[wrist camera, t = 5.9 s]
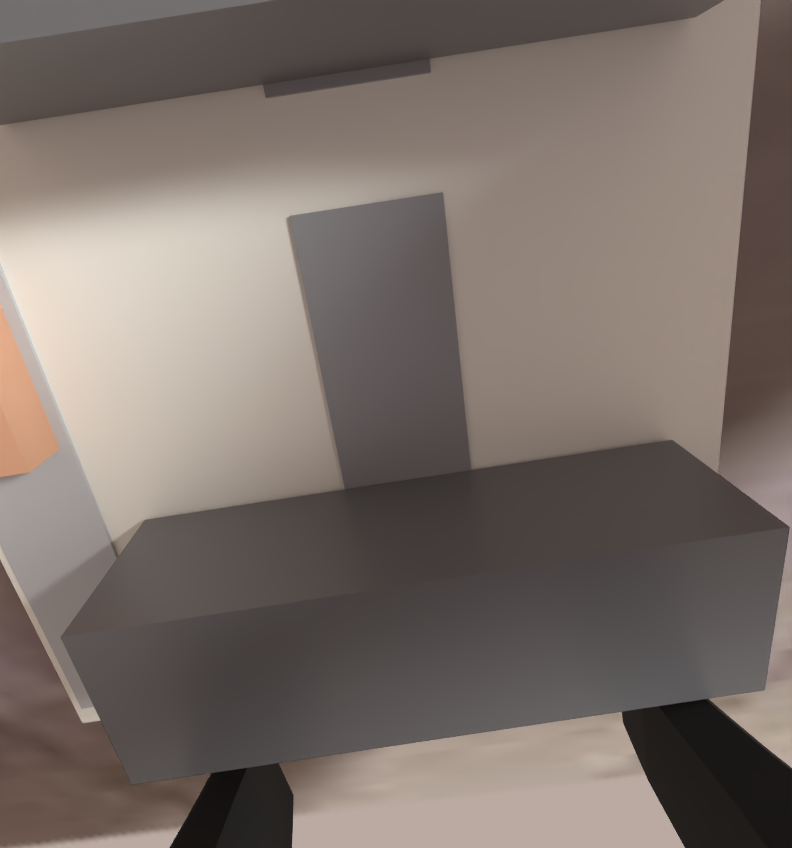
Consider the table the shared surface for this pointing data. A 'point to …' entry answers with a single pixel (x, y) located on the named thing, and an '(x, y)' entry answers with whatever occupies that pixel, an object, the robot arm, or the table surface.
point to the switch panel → (362, 285)
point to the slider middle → (262, 42)
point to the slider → (429, 610)
